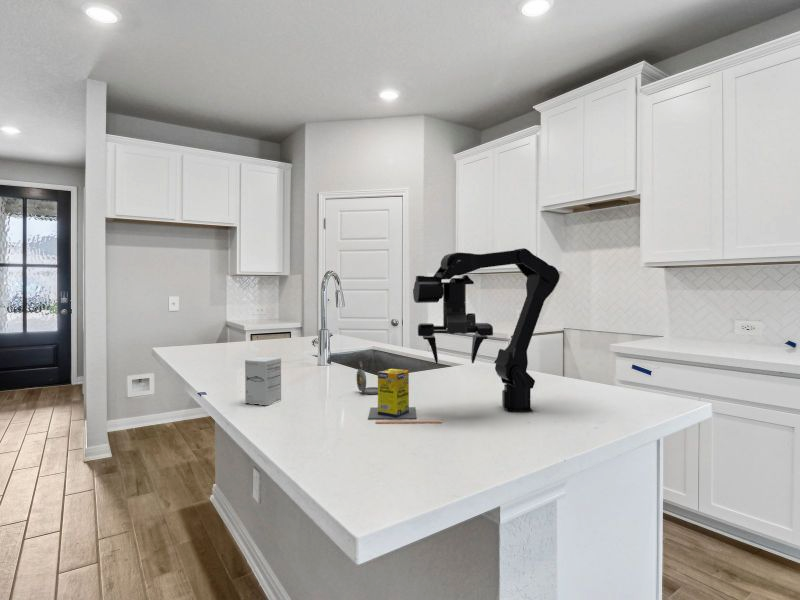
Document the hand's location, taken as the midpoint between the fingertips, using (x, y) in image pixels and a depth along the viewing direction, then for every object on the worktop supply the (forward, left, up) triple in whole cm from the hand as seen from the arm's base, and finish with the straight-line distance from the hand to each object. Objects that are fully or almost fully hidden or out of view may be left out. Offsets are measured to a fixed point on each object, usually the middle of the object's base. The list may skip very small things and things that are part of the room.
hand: (454, 363), depth 122 cm
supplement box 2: (+16, +1, -13) cm, 20 cm away
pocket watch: (+24, -24, -13) cm, 36 cm away
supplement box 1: (+53, -13, -13) cm, 56 cm away
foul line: (+12, +8, -13) cm, 19 cm away
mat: (+16, 0, -13) cm, 21 cm away
